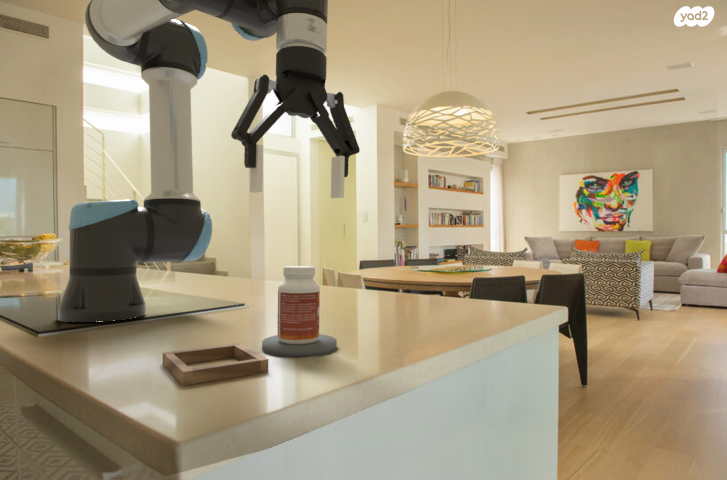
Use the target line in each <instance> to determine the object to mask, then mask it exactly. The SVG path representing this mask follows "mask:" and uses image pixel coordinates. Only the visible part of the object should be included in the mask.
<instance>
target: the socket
mask: <svg viewBox="0 0 727 480" xmlns="http://www.w3.org/2000/svg"><path fill="white" fill-rule="evenodd" d="M226 358H236V359H237V360H238V361H233V362H225V363H220V364H219V363H218V364H211V365H206V366H205V365H204V366H198V367H190V366H189V365H187V364H190V363H200V362H206V361H213V360H214V361H215V360H221V359H226ZM162 366H163V367H164V368H165V369H166V370H167V371H168V372H169V373H170V374H171V375H172V376H173V377H174V378H175V379H176V380H177V382H179V383H180V384H181V385H182V386H183V387H184V386H189V385H190V386H191V385H194V384H202V383H206V382H207V383H208V382H213V381H218V380H226V379H232V378H237V377H244V376H250V375H255V374H261V373H262V374H263V373H267V372H269V358H267V357H265V356H263V355H261V354H260V353H258V352H256V351H254V350H252V349H251V348H248V347H247V346H244V345H243V344H241V343H232V344H231V343H230V344H224V345H217V346H215V345H213V346H208V347H207V346H206V347H200V348H199V347H198V348H191V349H190V348H189V349H183V350H175V351H166V352H162Z"/></svg>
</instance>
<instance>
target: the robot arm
mask: <svg viewBox="0 0 727 480" xmlns="http://www.w3.org/2000/svg"><path fill="white" fill-rule="evenodd" d="M328 7H329V0H90V2H89V3H88V4H87V5H86V10H85V13H84V17H85V19H84V21H85V25H86V28H87V32H88V34H89V35H90V37H91V39H92V40H93V41H94V42H95V43H96V44H97V45H98V47H99V49H101V50H103V51H104V52H105V53H107V54H108V55H109V56H111V57H113V58H115V59H116V60H118V61H121V62H124V63H128V64H132V65H134V66H139V67H140V77H141V79H142V80H143V82H145V83H146V84H147V85H148V93H149V94H148V95H149V96H148V98H149V105H148V106H149V141H150V142H149V149H150V152H149V153H150V188H151V189H150V193H149V195H147V196H146V197H145V198H144V199H143V206H139V205H140V204H139V203H138V201H137V199H116V200H102V201H101V200H100V201H90V202H89V201H87V202H80V203H76V204H75V205H74V206H72V208H71V211H70V219H69V224H68V225H69V226H68V230H69V274H68V275H69V278H68V282H67V284H66V287H65V290H64V292H63V296H62V297H61V299H60V303H59V305H58V309H57V320H58V321H59V322H62V323H68V322H72V324H74V323H73V322H96V321H97V322H98V321H113V320H123V319H130V318H135V317H139V316H142V317H144V316H145V315H146V309H147V307H146V306H147V305H146V301H145V299H144V295H143V292H142V290H141V286H140V284H139V280H138V277H137V269H138V268H137V266H138V264H140V263H141V264H142V263H145V264H146V263H184V262H193V261H197V260H199V259H200V258H202V257H203V256H204V254H205V253H206V251H207V249H208V248H209V246H210V244H211V240H212V235H213V221H212V218H211V215H210V213H209V212H208V211H206V210H204V209H202V208H201V207H202V205H201V204H202V203H201V200H200V199H199V197H197V196H196V195H195V194H194V176H193V175H194V174H193V173H194V172H193V168H194V167H193V138H192V137H193V136H192V132H193V131H192V94H191V93H192V92H191V90H192V89H193V88H194V87H196V86H197V85H198V80H200V79H201V78H202V77H203V76H204V75H205V72H206V69H207V65H206V64H207V63H208V48H207V42H206V40H205V39H206V38H205V37H204V35H203V33H202V32H201V31H200V30H199V29H198V28H197V27H196V26H193V25H191V24H188V23H186V22H185V21H183V20H180V19H177V18H179V17H182V16H184V15H186V14H188V13H191V12H193V11H199V12H201V13H204V14H206V15H209V16H212V17H215V18H217V19H220V20H223V21H225V22H228V23H230V24H231V26H232V28H233V30H234V31H235V32H237V33H238V34H239V35H240V36H241V38H243V39H245V40H248V41H250V42H257V41H260V40H263V39H265V38H266V39H268V38H270V37H273V36H274V35H276V36H275V37H276V43H275V46H276V47H275V48H276V51H277V52H276V54H275V55H276V56H275V80H273V79H270V77H269V76H268V75H267V74H262V75H261V76H258V78H255V80H254V85H253V93H252V94H251V96H250V98H249V100H248V102H247V103H246V106H245V108H244V109H243V111H242V113H241V115H240V117H239V119H238V121H237V123H236V125H235V126H234V128H233V130H232V132H231V134H230V135H231V138H232V139H233V140H236V141H239V142H241V145H242V146H243V147H244V151H243V152H244V154H243V155H244V160H243V165H244V167H245V168H246V169H250V170H249V193H253V194H254V193H255V194H256V193H261V192H263V178H264V177H263V175H264V174H263V173H264V172H263V170H264V169H263V168H264V145H263V144H257V143H258V142H259V141H260V140H261V139H262V138H263V136H265V134H266V133H267V132H268V131H269V130H270V129H271V128H272V126H274V125H275V123H276V122H277V121H278V120H279V119H280V118H281V117H282V116H283V115H284V114H285V113H286V114H287V115H288V116H291V117H295V116H298V117H300V118H301V119H302V118H303V119H308V118H310V120H311V122H313V124H315V125H316V127H317V129H319V131H320V133H321V134H322V136H323V137H324V139H325V141H326V143H327V144H328V146H329V147H330V148H331V150H332V152H333V153H334V155H335V156H333V157H331V163H330V164H331V167H330V168H331V169H330V170H331V171H330V176H331V177H330V178H331V179H330V198H331V199H344V198H345V178H348V175H349V158H350V157H351V156H354V155H356V154H359V153H360V146H359V143H358V141H357V139H356V136H355V132H354V130H353V127H352V124H351V121H350V119H349V115H348V114H347V113H348V112H347V110H346V108H345V99H344V94H343V92H342V91H337V92H335V93H332V92H327V90H326V79H327V65H328V63H327V62H328V60H327V59H328V58H327V56H326V53H327V48H328V47H327V45H328V41H327V40H328V39H327V38H328V37H327V35H328V12H329V11H328ZM272 91H273V93H274V95H275V97H276V98H277V100H278V101H277V103H276V104H275V105H274V106H273V107H272V108H270V111H269V112H268V113H266V115H265V116H264V117H263V118H262V119H261V120H260V121H259V123H258V124H256V126H254V128H253V129H251V131H250V132H248V130H249V129H250V127H251V125H252V123H253V122H254V119H255V118H256V116H257V114H258V112H259V110H260V108H261V106H262V104H263V103H264V101H265V99H266V97H267V95H268V94H271V92H272ZM325 102H326V105H324V104H325ZM326 107H327V108H329V111H330V112H329V111H328V109H327V108H326ZM330 114H331V118H332V119H331V118H330ZM332 120H333V121H332ZM143 315H144V316H143ZM139 318H140V317H139ZM135 319H136V318H135ZM130 320H131V319H130ZM123 321H124V320H123Z"/></svg>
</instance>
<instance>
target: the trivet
mask: <svg viewBox="0 0 727 480" xmlns="http://www.w3.org/2000/svg"><path fill="white" fill-rule="evenodd" d="M337 342H338V341H337V339H336V338H335V337H333V336H330V335H326V334H321V333H319V339H318V340H317V341H316V342H314V343H309V344H302V345H294V344H285V343H282V342H280V341H279V340H278V334H276V335H272V336H269V337H266V338H264V339H263V340H262V341H261V350H262V351H263V352H264V353H265V354H267V355H268V354H269V355H271V356H276V357H277V356H278V357H285V358H286V357H288V358H305V357H318V356H322V355H328V354H329V353H332V352H334V351H336V349H337V346H338V345H337Z"/></svg>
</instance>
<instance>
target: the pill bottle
mask: <svg viewBox="0 0 727 480" xmlns="http://www.w3.org/2000/svg"><path fill="white" fill-rule="evenodd" d="M282 274H283V277H284V280H283V281H281V282H280V283H279V285H278V287H277V335H278V340H279V341H280V342H282V343H285V344H294V345H302V344H309V343H314V342H316V341H317V340H318V339H319V334H320V308H321V307H320V301H321V299H320V295H321V292H320V291H321V290H320V288H321V287H320V285H319V283H318V282H317V281H315V280H314V277H315V276H316V266H313V265H312V266H311V265H287V266H283V273H282Z"/></svg>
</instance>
